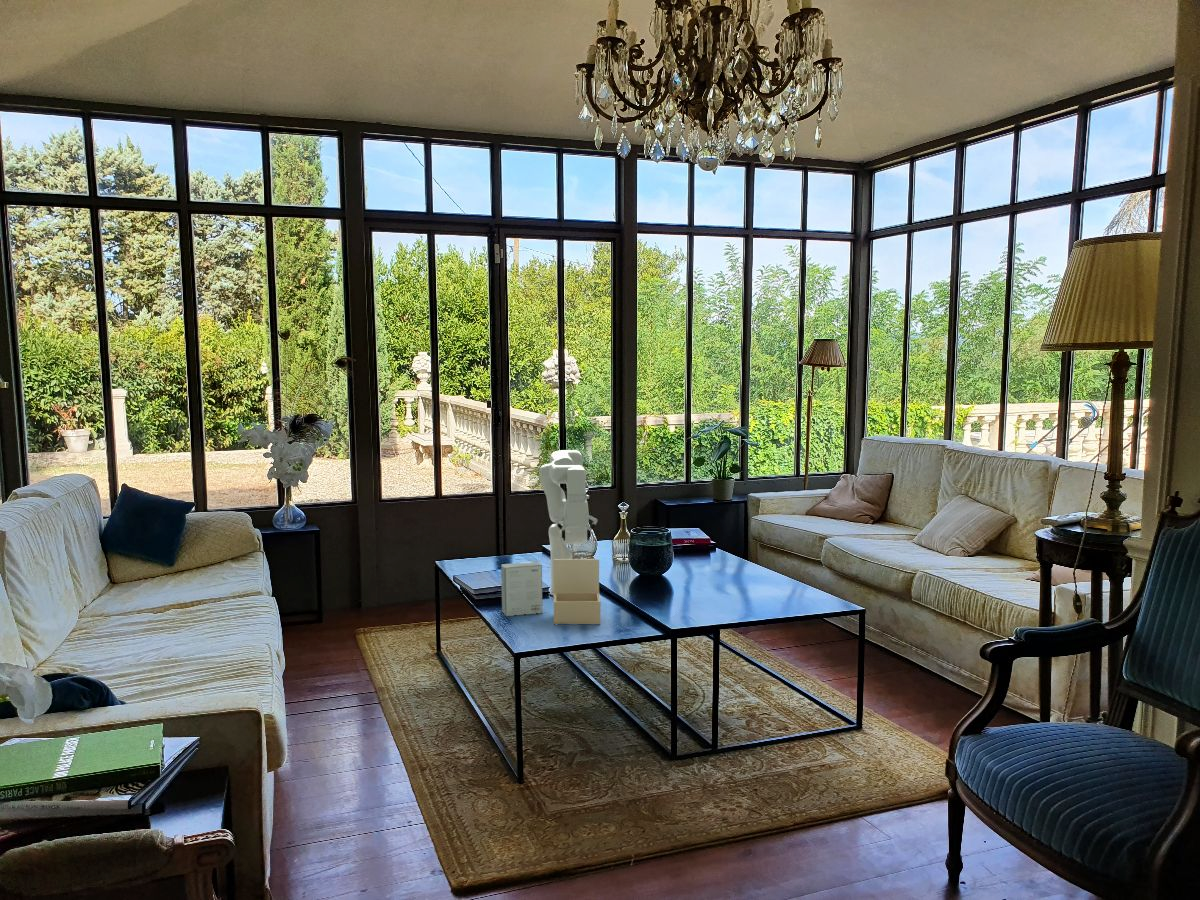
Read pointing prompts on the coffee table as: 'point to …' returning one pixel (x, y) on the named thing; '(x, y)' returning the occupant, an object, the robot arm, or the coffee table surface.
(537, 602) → the hard drive box
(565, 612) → the carton
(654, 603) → the coffee table surface
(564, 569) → the carton flap
